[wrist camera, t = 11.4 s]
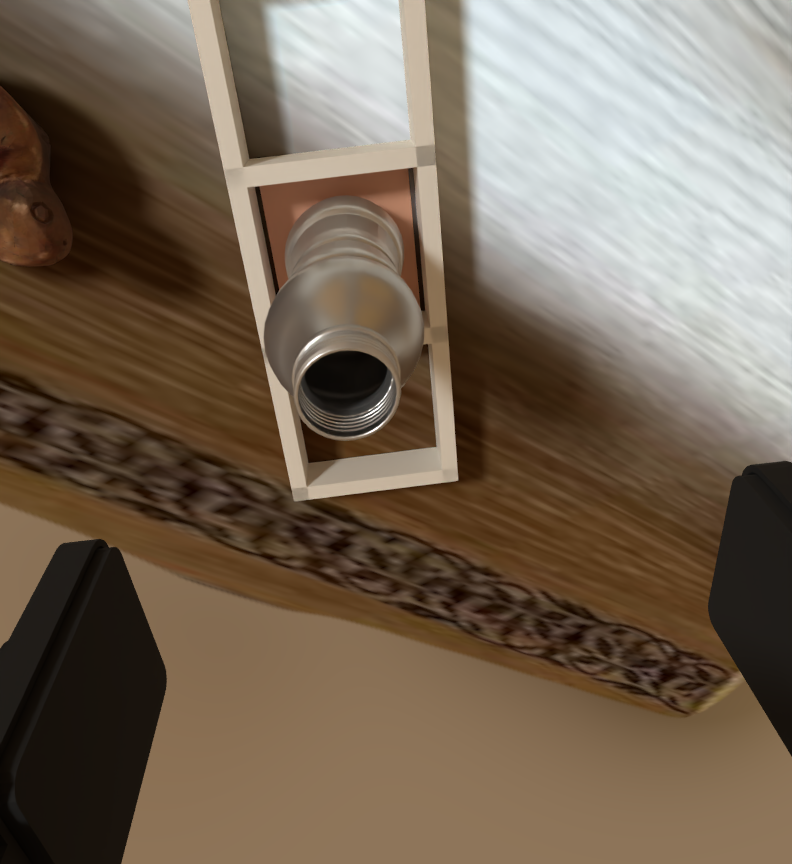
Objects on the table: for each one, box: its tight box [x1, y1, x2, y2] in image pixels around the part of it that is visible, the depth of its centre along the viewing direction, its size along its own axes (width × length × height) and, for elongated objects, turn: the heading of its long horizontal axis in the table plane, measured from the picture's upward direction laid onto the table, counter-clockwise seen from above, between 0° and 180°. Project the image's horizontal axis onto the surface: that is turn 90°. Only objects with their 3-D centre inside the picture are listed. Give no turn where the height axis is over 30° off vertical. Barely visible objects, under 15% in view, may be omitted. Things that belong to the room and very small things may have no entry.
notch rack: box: [188, 0, 458, 501], centre depth 40 cm, size 31×11×3 cm, turn 6°
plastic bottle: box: [264, 195, 424, 441], centre depth 32 cm, size 6×7×20 cm
